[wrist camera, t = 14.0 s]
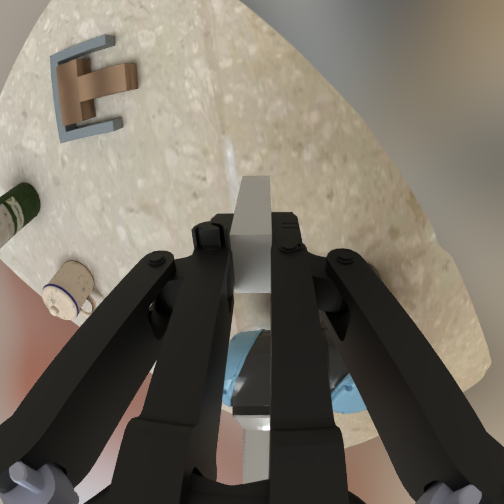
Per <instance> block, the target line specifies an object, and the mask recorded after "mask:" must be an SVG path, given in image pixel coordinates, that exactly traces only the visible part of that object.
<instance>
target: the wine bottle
mask: <svg viewBox="0 0 504 504" xmlns="http://www.w3.org/2000/svg"><path fill="white" fill-rule="evenodd" d="M39 209H40V201H39V197H38V195H37V193H36V191H35V189H34V188H33V187H32V186H31V185H29V184H27V183H21V184H18V185H17V186H15V187H14V188H12V189H11V190H10V191H8V192H7V193H5V194H4V195H2V196H1V197H0V248H1V247H2V246H3V245H4V244H6V243H7V242H8V241H9V240H10V239H11V238H12V237H13V236H14V235H15V234H16V233H17V232H18V231H20V230H21V229H22V228H23V227H24V226H25V225H26V224H27V223H29V222H30V221H31V220H32V219H33V218H34V217H36V216H37V214H38V212H39Z"/></svg>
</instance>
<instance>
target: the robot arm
mask: <svg viewBox="0 0 504 504" xmlns="http://www.w3.org/2000/svg"><path fill="white" fill-rule="evenodd" d="M192 237H193V243H194V252H193V254H192V255H191V256H189V257H185V258H180V259H175V260H174V256H173V254H172V253H171V252H168V251H154V252H152V253H149V254H147V255H146V256H145V257H143V258H142V259H141V260H140V261H139V262H138V263H137V264H136V265H135V266H134V268H133V269H132V270H131V271H130V272H129V273H128V274H127V275H126V276H125V277H124V278H123V279H122V280H121V281H120V283H119V284H118V285H117V286H116V287H115V288H114V289H113V290H112V291H111V292H110V294H109V295H108V296H107V297H106V298H105V299H104V300H103V301H102V302H101V304H100V305H99V306H98V307H97V308H96V309H95V310H94V312H93V313H92V314H91V315H90V316H89V317H88V319H87V320H86V321H85V322H84V323H83V324H82V326H81V327H80V328H79V329H78V330H77V331H76V333H75V334H74V335H73V336H72V338H71V339H70V340H69V341H68V342H67V344H66V345H65V346H64V347H63V348H62V350H61V351H60V353H59V354H58V355H57V356H56V357H55V358H54V360H53V361H52V362H51V364H50V365H49V366H48V368H47V369H46V370H45V371H44V373H43V374H42V375H41V377H40V378H39V379H38V381H37V382H36V383H35V385H34V386H33V387H32V389H31V390H30V391H29V393H28V394H27V395H26V397H25V398H24V400H23V401H22V402H21V404H20V405H19V407H18V408H17V410H16V411H15V412H14V414H13V415H12V416H11V417H10V418H8V419H7V420H6V421H5V422H3V423H2V424H1V425H0V497H1V499H2V501H3V503H4V504H78V503H79V497H78V495H77V493H76V492H75V491H74V488H75V487H76V486H77V485H78V484H79V483H80V482H81V481H82V480H83V479H84V478H85V476H86V475H87V474H88V473H89V472H90V470H91V469H92V467H93V466H94V464H95V462H96V461H97V459H98V457H99V456H100V454H101V452H102V451H103V449H104V447H105V445H106V443H107V442H108V440H109V438H110V437H111V435H112V433H113V432H114V430H115V428H116V427H117V425H118V423H119V421H120V420H121V418H122V416H123V415H124V413H125V411H126V410H127V408H128V406H129V405H130V403H131V401H132V400H133V398H134V396H135V394H136V393H137V391H138V390H139V388H140V386H141V385H142V383H143V381H144V380H145V378H146V376H147V375H148V373H149V372H150V370H151V368H152V367H153V365H154V363H155V362H156V360H157V362H156V365H155V368H154V372H153V375H152V378H151V382H150V385H149V389H148V393H147V396H146V400H145V403H144V406H143V410H142V412H141V414H140V415H139V417H135V418H132V419H131V420H130V421H129V422H128V424H127V426H126V429H125V432H124V435H123V439H122V442H121V446H120V450H119V454H118V458H117V462H116V466H115V470H114V474H113V478H112V482H111V484H110V485H109V486H107V487H106V488H105V489H103V490H102V491H101V492H99V493H98V494H97V495H95V496H94V497H92V498H91V499H90V500H88V501H87V502H85V503H84V504H366V503H365V502H364V501H362V500H361V499H360V498H359V497H357V496H356V495H354V494H353V493H351V492H349V491H348V485H347V474H346V463H345V453H344V443H343V438H342V433H341V430H340V428H339V427H337V426H336V425H335V422H334V416H333V411H335V412H337V413H340V412H341V413H343V414H349V413H356V412H360V411H363V410H366V409H367V410H368V412H369V414H370V416H371V419H372V421H373V423H374V425H375V427H376V429H377V431H378V433H379V436H380V438H381V440H382V442H383V444H384V446H385V449H386V451H387V453H388V455H389V457H390V460H391V462H392V464H393V466H394V468H395V471H396V473H397V475H398V477H399V479H400V480H401V482H402V484H403V486H404V487H405V489H406V490H407V492H408V493H409V495H410V496H411V497H412V498H413V499H414V500H415V502H416V503H415V504H504V447H503V446H502V445H501V444H500V443H499V442H497V441H496V440H495V439H494V438H493V437H492V436H491V435H489V434H488V433H487V432H486V430H485V428H484V427H483V425H482V423H481V422H480V420H479V418H478V417H477V415H476V413H475V411H474V410H473V408H472V407H471V405H470V403H469V402H468V400H467V399H466V397H465V395H464V394H463V392H462V391H461V389H460V388H459V386H458V384H457V383H456V381H455V380H454V378H453V377H452V375H451V374H450V372H449V371H448V369H447V368H446V366H445V365H444V364H443V362H442V361H441V359H440V358H439V356H438V355H437V353H436V352H435V351H434V349H433V348H432V346H431V345H430V344H429V342H428V341H427V339H426V338H425V337H424V335H423V334H422V333H421V331H420V330H419V328H418V327H417V326H416V324H415V323H414V322H413V320H412V319H411V318H410V316H409V315H408V314H407V313H406V311H405V310H404V309H403V307H402V306H401V305H400V303H399V302H398V301H397V300H396V298H395V297H394V296H393V295H392V293H391V292H390V291H389V290H388V288H387V287H386V286H385V285H384V283H383V282H382V281H381V279H380V277H379V274H378V273H377V271H376V270H375V269H374V268H373V267H372V266H371V265H369V264H367V263H366V262H365V260H364V259H363V258H362V257H361V256H360V255H359V254H358V253H357V252H354V251H352V250H350V249H344V248H342V249H335V250H332V251H330V252H329V253H328V255H327V258H326V257H321V256H317V255H314V254H311V253H309V252H308V251H307V248H306V246H305V244H303V243H302V238H301V233H300V228H299V224H298V218H297V216H296V215H294V214H293V213H292V212H271V195H270V176H243V177H242V181H241V186H240V190H239V194H238V199H237V203H236V208H235V212H234V214H217V215H215V216H214V217H213V218H212V219H211V221H208V222H203V223H200V224H198V225H196V226H194V227H193V229H192ZM233 290H235V293H271V330H265V329H260V330H259V331H247V332H240V333H237V334H236V335H234V336H233V338H232V339H231V341H230V342H229V339H230V331H231V323H232V315H233V307H234V295H233ZM151 303H152V305H151ZM150 305H151V306H150ZM149 307H150V308H149ZM222 401H223V403H224V404H225V405H228V406H229V407H230V406H233V418H234V419H235V420H236V421H237V422H238V423H239V424H240V425H241V426H242V427H243V484H240V485H232V486H231V485H226V484H222V483H219V482H216V479H217V466H216V449H217V441H218V432H219V423H220V415H221V406H222Z"/></svg>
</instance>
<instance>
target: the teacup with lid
mask: <svg viewBox="0 0 504 504" xmlns="http://www.w3.org/2000/svg"><path fill="white" fill-rule="evenodd" d="M93 287H94V281H93V278H92V276H91V274H90V272H89V271H88V270H87V269H86V268H85V267H84V266H83V265H81V264H80V263H78V262H75V261H68V262H65V263H64V264H63V265H62V267H61V268H60V269H59V270H58V272H57V273H56V274H55V275H54V277H53V278H52V279H51V280H50V282H49V283H48V284H47V285H45V286H44V288H43V291H42V297H43V301H44V303H45V304H46V306H47V307H48V309H49V310H50V313H51V314H52V315H53V316H58V317H60V318H62V319H65V320H72V319H74V318H76V317H77V316H78V313H80V314H81V315H82V316H84V317H89V316H90V315H91V314H92V313H93V312H94V310H95V309H96V303H95V301H94V299H93V298H92V297H91V296H90V295H89V294H90V292H91V291H92V289H93ZM86 299H87V300H88V301H89V302H90V303H91V305H92V312H91V313H87V312H85V311H84V310H82V309H81V307H82V305H83V304H84V302H85V300H86Z"/></svg>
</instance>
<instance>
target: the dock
mask: <svg viewBox="0 0 504 504" xmlns="http://www.w3.org/2000/svg"><path fill="white" fill-rule="evenodd" d="M111 46H115V36H110V35H102V36H99V37H97V38H94V39H91V40H88V41H85V42H83V43H80V44H77V45H75V46H72V47H70V48H68V49H65V50H63V51H60V52H58V53H56V54H54V55H51V56H50V64H51V78H52V88H53V98H54V106H55V113H56V120H57V126H58V132H59V138H60V143H63V142H67V141H71V140H76V139H80V138H84V137H88V136H93V135H98V134H102V133H107V132H113V131H116V130H118V129H120V128H123V126H122V118H117V119H112V120H107V121H103V122H98V123H94V124H90V125H86V126H82V127H78V128H76V125H75V123H73V124H70V125H66V126H63V123H62V117H61V110H60V102H59V93H58V83H57V71H56V67H57V66H59V65H62V64H64V63H67V62H69V61H70V60H73V59H76V58H78V57H81V56H84V55H87V54H90V53H92V52H95V51H98V50H102V49H105V48H108V47H111Z"/></svg>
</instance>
